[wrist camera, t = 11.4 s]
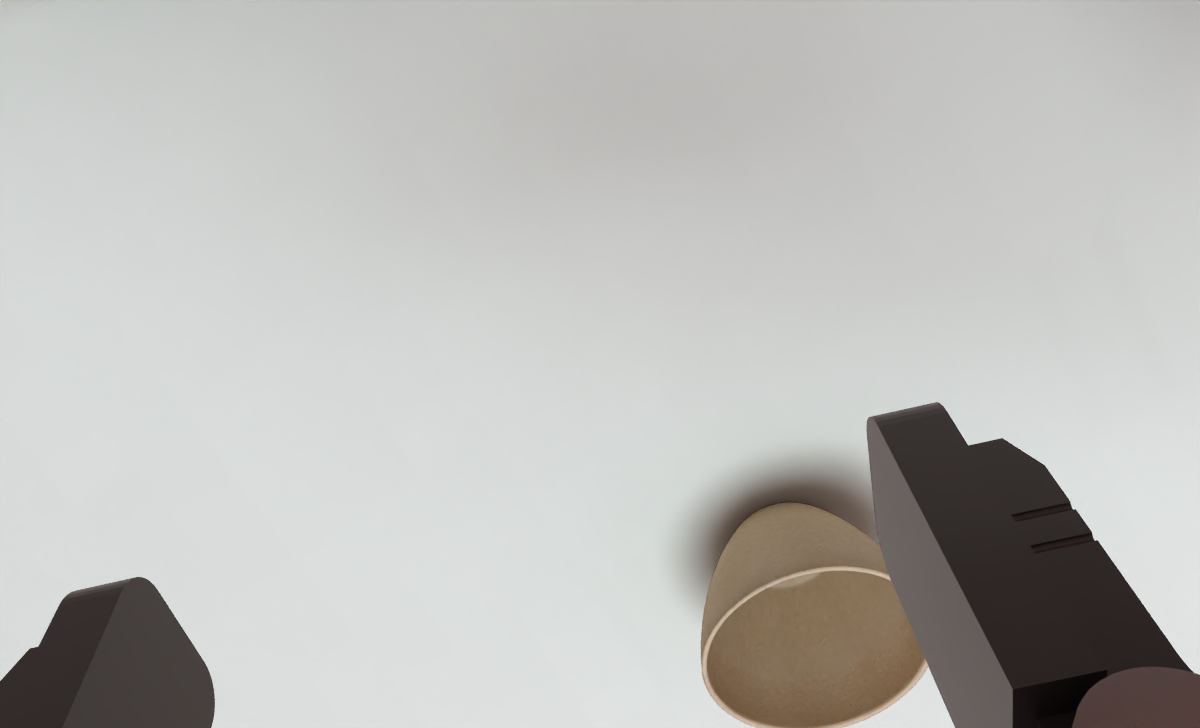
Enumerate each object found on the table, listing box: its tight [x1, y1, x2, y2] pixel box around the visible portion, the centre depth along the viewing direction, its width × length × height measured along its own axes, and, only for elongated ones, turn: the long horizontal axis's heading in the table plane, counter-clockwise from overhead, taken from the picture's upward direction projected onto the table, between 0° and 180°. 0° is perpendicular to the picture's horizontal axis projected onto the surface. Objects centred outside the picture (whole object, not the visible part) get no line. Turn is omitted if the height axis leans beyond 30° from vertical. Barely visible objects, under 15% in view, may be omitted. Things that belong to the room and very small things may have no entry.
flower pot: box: [701, 502, 928, 728], centre depth 46 cm, size 10×10×7 cm
